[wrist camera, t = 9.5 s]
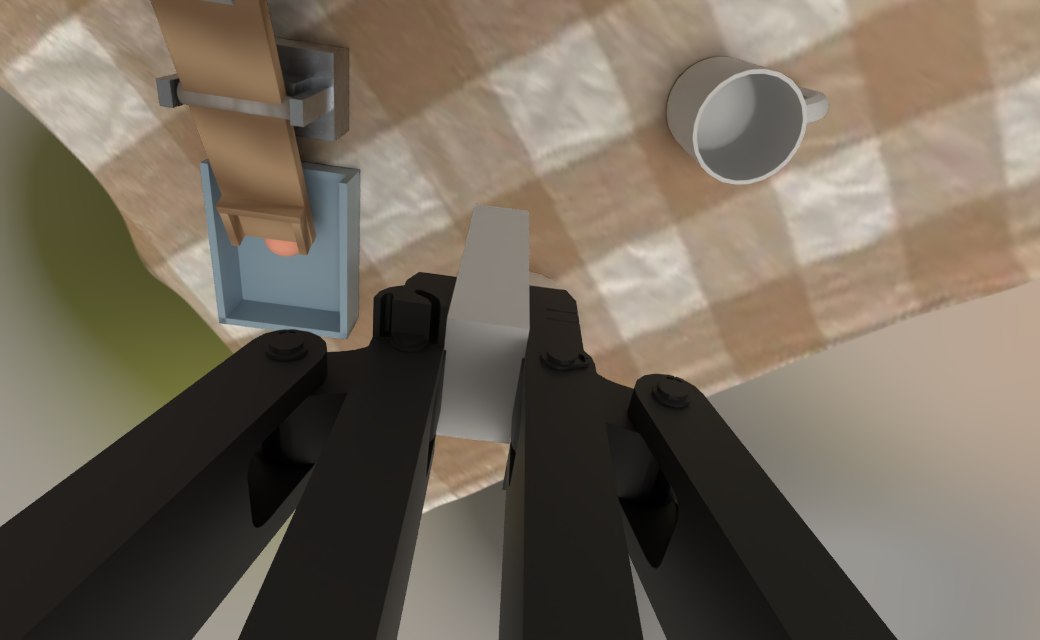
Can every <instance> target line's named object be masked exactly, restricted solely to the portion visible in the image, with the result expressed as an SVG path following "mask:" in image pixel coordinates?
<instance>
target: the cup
mask: <svg viewBox="0 0 1040 640" xmlns="http://www.w3.org/2000/svg"><path fill="white" fill-rule="evenodd" d="M828 108H829V102H828V100H827V97H826V95H824V94H823V93H821V92H818V91H814V90H811V89H806V88H798V87H797V86H796V84H795V83H794V82H793V81H792V80H791V79H789V78H788V77H786V76H785V75H783V74H781V73H780V72H777V71H774V70H770V69H767V68H764V67H761V66H758V65H755V64H751V63H748V62H745V61H742V60H739V59H734V58H730V57H711V58H708V59H705V60H702V61H699V62H698V63H696V64H694V65H693V66H691V67H690V68H688V69H687V70H686V71H685V72H684V73H683V74H682V75H681V76H680V77H679V78H678V80H677V81H676V83H675V85H674V86H673V88H672V90H671V92H670V96H669V99H668V102H667V112H666V117H667V122H668V127H669V129H670V131H671V133H672V135H673V137H674V139H675V140H676V141H677V142H678V143H679V144H680V145H681V146H682V148H683V149H684V150H685V151H686V152H687V153H688V154H689V155H690V156H691V157H692V158H693V159H694V160H695V161H696V162H697V163H698V164H699V165H700V166H701V167H702V168H703V169H704V170H705V171H706V172H707V173H708V174H709V175H711V176H713V177H714V178H716V179H718V180H720V181H721V182H726V183H730V184H750V183H754V182H757V181H760V180H764V179H765V178H767V177H769V176H771V175H773V174H774V173H776V172H777V171H779V170H780V169H781V168H782V167H783V166H784V165H785V164H786V163H788V162H789V160H790V159H791V158H792V156H793V155H794V154H795V152H796V151H797V150H798V148H799V146H800V143H801V141H802V139H803V136H804V134H805V129H806V125H807V124H810V123H813V122H815V121H817V120H819V119H821V118H823V117H824V116H825V114H826V112H827V110H828Z"/></svg>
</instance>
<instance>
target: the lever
mask: <svg viewBox="0 0 1040 640" xmlns="http://www.w3.org/2000/svg"><path fill="white" fill-rule="evenodd" d="M151 3H152V6H153V8H154V11H155V14H156V16H157V19H158V22H159V25H160V27H161V30H162V33H163V36H164V38H165V41H166V44H167V47H168V49H169V52H170V55H171V58H172V60H173V63H174V66H175V69H176V71H177V74H178V77H179V80H180V82H179V83H178V86H177V96H178V99H179V101H180V102H181V103H182V104H186V105H189V107H190V110H191V112H192V115H193V118H194V121H195V123H196V126H197V129H198V132H199V134H200V137H201V140H202V143H203V145H204V148H205V151H206V154H207V156H208V159H209V162H210V165H211V167H212V170H213V173H214V176H215V178H216V181H217V184H218V187H219V189H220V192H221V195H222V196H221V198H220V200H219V201H218V203H217V205H216V209H217V212H218V213H220V216H221V219H222V221H223V224H224V227H225V229H226V232H227V234H228V237H229V240H230V242H231V245H233V246H240V245H241V242H242V240H243V238H244V236H252V237H260V238H267V239H274V240H282V241H289V242H296V243H297V246H298V250H299V254H300V255H308V253H309V250H310V248H311V245H313V243H314V241H315V238H316V231H315V227H314V222H313V217H312V213H311V208H310V203H309V198H308V194H307V189H306V184H305V179H304V175H303V170H302V165H301V161H300V156H299V151H298V146H297V142H296V137H295V132H294V128H293V125H290V103H289V98H292V97H289V96H287V95H286V90H285V85H284V80H283V76H282V71H281V66H280V61H279V57H278V52H277V47H276V43H275V38H274V33H273V28H272V24H271V19H270V14H269V10H268V5H267V0H151Z"/></svg>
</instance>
